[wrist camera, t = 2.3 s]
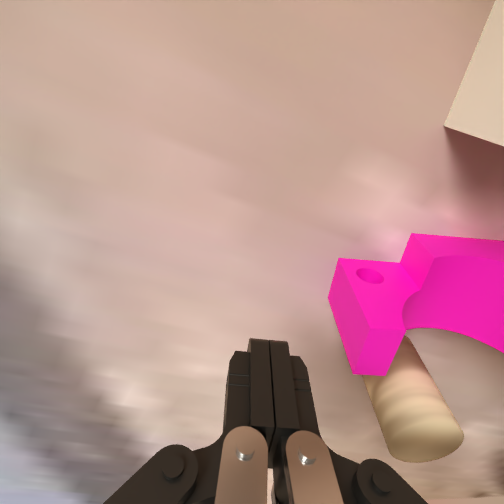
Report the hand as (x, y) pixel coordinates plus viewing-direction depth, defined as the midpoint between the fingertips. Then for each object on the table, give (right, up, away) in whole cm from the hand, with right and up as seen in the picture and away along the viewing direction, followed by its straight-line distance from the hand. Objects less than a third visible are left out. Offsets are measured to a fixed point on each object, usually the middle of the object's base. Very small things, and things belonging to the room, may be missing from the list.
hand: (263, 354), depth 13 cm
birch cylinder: (+11, -5, +16) cm, 20 cm away
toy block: (+13, +3, +12) cm, 18 cm away
